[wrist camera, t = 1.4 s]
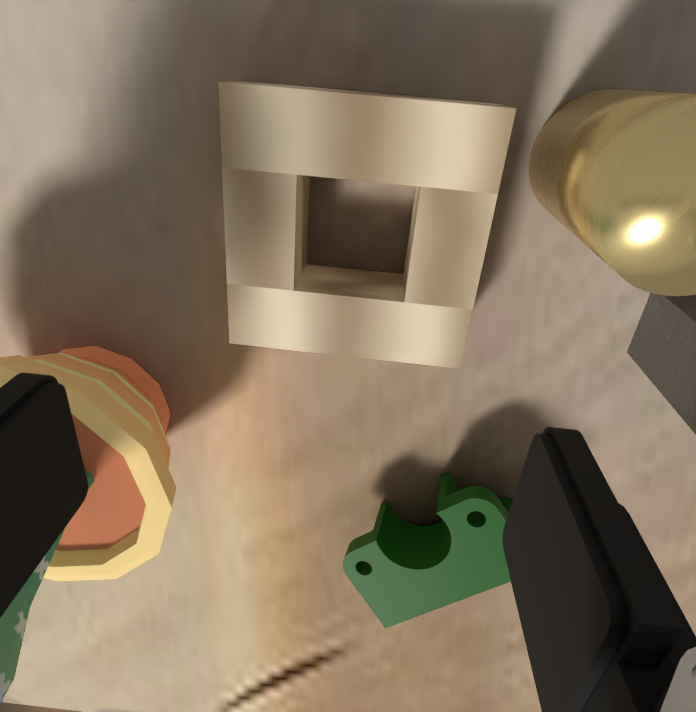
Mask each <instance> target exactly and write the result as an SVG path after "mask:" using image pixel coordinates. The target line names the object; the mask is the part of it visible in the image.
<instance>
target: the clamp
mask: <svg viewBox="0 0 696 712" xmlns="http://www.w3.org/2000/svg"><path fill="white" fill-rule="evenodd" d="M512 501H513V499H511V498H502V499H498V497H497V496H496V495H495V493H493V492H492V491H491V490H489V489H487V488H485V487H482V486H469V487H466V488H464V489H462V490H460V488H459V487H458V485H457V484H456V482H455V481H454V480H453V478H452V477H451V475H450V474H449V473H448V472H447V473H445V474H443V475H441V478H440V486H439V495H438V503H437V511H436V514H438V515H439V516H440V517H441V518H442V519H443V521H441V522H439V523H437V524H434V525H429V526H419V525H414V524H411V523H408V522H406V521H404V520H402V519H401V518H400V517H398V516H397V515H396V514H395V513H394V511H393V510H392V509H391V507H390V505H389V504H388V502H385V503H383V504H381V506H380V509H379V513H378V516H377V519H376V523H375V526H374V529H373V531H371V532H369V533H366V534H364V535H362V536H360V537H358V538H356V539H354V540H353V541H352V542H351V543H350V544H349V547H348V550H347V552H346V555H345V558H344V561H343V569H344V572H345V574H346V575H347V577H348V578H349V579H350V581H351V582H352V583H353V585H354V586H355V588H356V589H357V590H358V592H359V593H360V594H361V596H362V597H363V598H364V600H365V601H366V603H367V604H368V605H369V607H370V608H371V609H372V611H373V612H374V613H375V615H376V616H377V618H378V619H379V620H380V622H381V623H382V624H383V626H384V627H385V628H387V627H390V626H393V625H395V624H398V623H401V622H403V621H406V620H409V619H411V618H414V617H417V616H419V615H422V614H425V613H427V612H430V611H433V610H435V609H438V608H441V607H444V606H446V605H449V604H452V603H454V602H457V601H460V600H462V599H465V598H468V597H470V596H473V595H476V594H478V593H481V592H484V591H486V590H489V589H492V588H494V587H497V586H500V585H502V584H505V583H508V582H510V581H511V579H510V575H509V570H508V566H507V562H506V558H505V554H504V549H503V542H502V537H503V529H504V526H505V523H506V520H507V517H508V513H509V510H510V507H511V504H512Z"/></svg>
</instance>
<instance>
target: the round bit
mask: <svg viewBox="0 0 696 712" xmlns="http://www.w3.org/2000/svg"><path fill="white" fill-rule="evenodd" d="M529 176H530V182H531V187H532V189H533V192H534V194H535V196H536V198H537V200H538V201H539V202H540V204H541V205H542V206H543V207H544V208H545V209H546V210H547V211H548V212H549V213H551V214H552V215H553V216H554V217H555V218H556V219H557V220H558V221H560V222H561V223H562V224H563V225H564V226H565V227H566V228H567V229H569V230H570V231H571V232H572V233H573V234H574V235H575V236H576V237H578V238H579V239H580V240H581V241H582V242H583V243H584V244H585V245H587V246H588V247H589V248H590V249H591V250H592V251H593V252H594V253H595V254H597V255H598V256H599V257H600V258H601V259H602V260H603V261H604V262H606V263H607V264H608V265H609V266H610V267H611V268H612V269H613V270H615V271H616V272H617V273H618V274H619V275H620V276H621V277H622V278H624V279H625V280H626V281H628V282H629V283H630V284H632V285H633V286H635V287H637V288H640V289H642V290H644V291H647V292H650V293H654V294H659V295H665V296H689V295H696V94H694V93H675V92H657V91H638V90H619V89H603V90H596V91H592V92H588V93H585V94H583V95H580V96H578V97H576V98H574V99H572V100H571V101H569V102H568V103H566V104H565V105H563V106H562V107H561V108H560V109H558V110H557V111H556V112H555V113H554V114H553V115H552V116H551V117H550V118H549V120H548V121H547V122H546V123H545V125H544V126H543V128H542V129H541V131H540V133H539V134H538V136H537V138H536V141H535V143H534V145H533V149H532V152H531V156H530V162H529Z"/></svg>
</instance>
